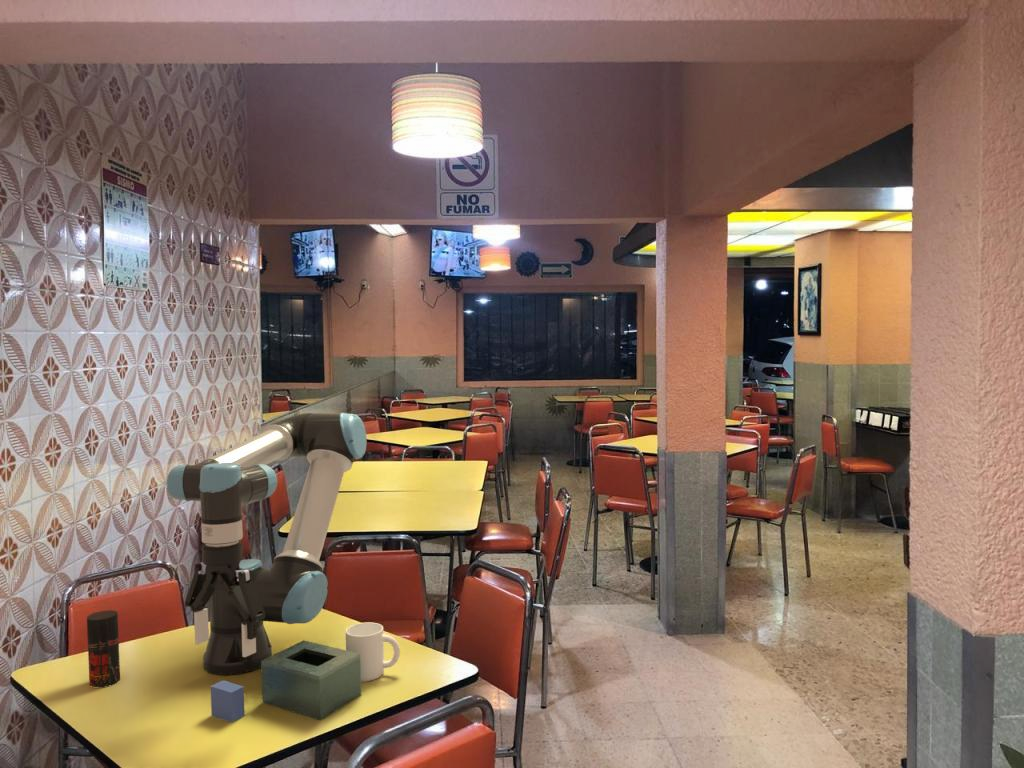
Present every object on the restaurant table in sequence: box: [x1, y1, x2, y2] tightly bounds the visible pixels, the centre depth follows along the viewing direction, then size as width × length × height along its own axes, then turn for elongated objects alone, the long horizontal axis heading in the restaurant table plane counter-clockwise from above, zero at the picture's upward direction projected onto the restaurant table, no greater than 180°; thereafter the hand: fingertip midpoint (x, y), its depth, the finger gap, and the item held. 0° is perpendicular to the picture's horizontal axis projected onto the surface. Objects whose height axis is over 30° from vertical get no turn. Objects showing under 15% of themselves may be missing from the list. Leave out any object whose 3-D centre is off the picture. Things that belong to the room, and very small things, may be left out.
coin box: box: [260, 640, 362, 721], centre depth 153 cm, size 16×12×9 cm
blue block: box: [210, 679, 246, 723], centre depth 146 cm, size 6×3×6 cm, turn 61°
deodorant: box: [86, 609, 121, 688], centre depth 162 cm, size 6×6×15 cm
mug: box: [345, 621, 401, 683], centre depth 164 cm, size 12×8×10 cm
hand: (225, 648), depth 146 cm, fingers open, 13 cm apart
